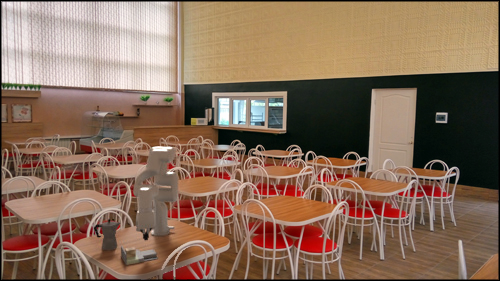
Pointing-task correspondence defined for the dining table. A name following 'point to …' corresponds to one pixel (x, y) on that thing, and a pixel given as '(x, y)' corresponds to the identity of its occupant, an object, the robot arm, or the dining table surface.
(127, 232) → the dining table surface
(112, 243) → the coffeepot
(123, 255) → the multicoloured piece
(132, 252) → the maple block
